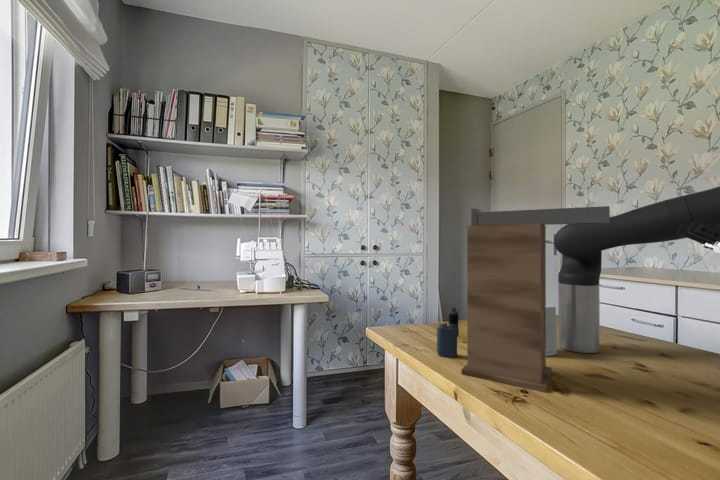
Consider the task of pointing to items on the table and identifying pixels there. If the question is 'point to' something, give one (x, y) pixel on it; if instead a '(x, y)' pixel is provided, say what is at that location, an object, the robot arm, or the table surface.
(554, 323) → the skincare box
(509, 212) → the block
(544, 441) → the table surface
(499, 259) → the stand
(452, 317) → the vaping device
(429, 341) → the table surface
